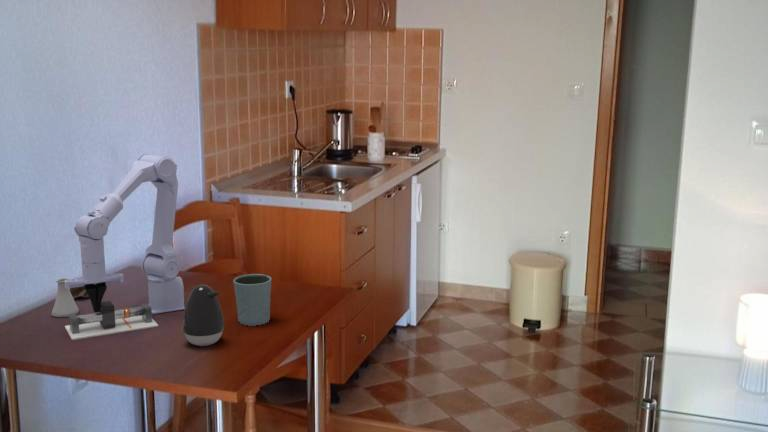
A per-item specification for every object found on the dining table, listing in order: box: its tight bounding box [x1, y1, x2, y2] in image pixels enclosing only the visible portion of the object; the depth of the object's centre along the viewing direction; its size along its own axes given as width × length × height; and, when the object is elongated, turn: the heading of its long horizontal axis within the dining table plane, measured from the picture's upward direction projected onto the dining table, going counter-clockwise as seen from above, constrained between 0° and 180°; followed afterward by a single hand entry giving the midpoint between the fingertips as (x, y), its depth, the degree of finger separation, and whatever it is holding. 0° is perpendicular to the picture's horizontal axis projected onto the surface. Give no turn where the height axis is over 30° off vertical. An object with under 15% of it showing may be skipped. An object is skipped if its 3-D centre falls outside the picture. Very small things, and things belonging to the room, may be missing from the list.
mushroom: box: [70, 286, 89, 299], centre depth 247 cm, size 8×8×6 cm
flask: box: [50, 277, 80, 318], centre depth 231 cm, size 7×7×10 cm
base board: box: [64, 316, 159, 341], centre depth 222 cm, size 22×11×1 cm, turn 120°
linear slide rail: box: [68, 303, 153, 334], centre depth 222 cm, size 20×4×4 cm, turn 120°
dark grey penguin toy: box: [182, 284, 225, 347], centre depth 210 cm, size 10×10×15 cm
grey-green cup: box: [232, 273, 272, 327], centre depth 227 cm, size 10×10×12 cm
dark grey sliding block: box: [98, 300, 116, 328], centre depth 221 cm, size 3×5×6 cm, turn 30°
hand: (96, 311), depth 220 cm, fingers closed
